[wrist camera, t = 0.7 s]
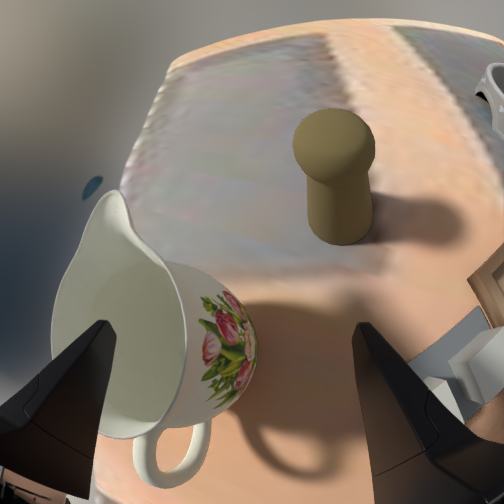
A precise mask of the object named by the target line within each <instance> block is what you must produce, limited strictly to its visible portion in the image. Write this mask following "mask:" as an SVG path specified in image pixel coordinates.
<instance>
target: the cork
mask: <svg viewBox="0 0 504 504" xmlns="http://www.w3.org/2000/svg"><path fill="white" fill-rule="evenodd" d="M293 150H294V155H295V158H296V161H297V162H298V164H299V165H300V167H301V168H302V170H303V171H304V172H305V174H306V175H307V202H308V220H309V225H310V227H311V229H312V231H313V232H314V234H315V235H317V236H318V237H319V238H320V239H321V240H323V241H325V242H327V243H329V244H333V245H340V246H343V245H348V244H353V243H355V242H357V241H359V240H361V239H362V238H363V237H364V236H365V235H366V234H367V233H368V231H369V229H370V227H371V225H372V220H373V209H372V200H371V192H370V184H369V177H368V171H369V169H370V167H371V164H372V162H373V160H374V158H375V140H374V136H373V134H372V132H371V129H370V127H369V126H368V125H367V124H366V123H365V122H364V121H363V120H362V119H361V118H360V117H359V116H358V115H356V114H354V113H352V112H350V111H346V110H343V109H331V108H329V109H323V110H319V111H316V112H314V113H311V114H309V115H308V116H307V117H305V118H304V119H303V120H302V121H301V123H300V124H299V126H298V127H297V129H296V130H295V134H294V138H293Z"/></svg>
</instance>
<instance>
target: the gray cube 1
mask: <svg viewBox="0 0 504 504" xmlns="http://www.w3.org/2000/svg"><path fill="white" fill-rule="evenodd" d="M423 382H424V383H425V384H426V385H427V387H428V388H429V389H430V390H431V391H432V392H433V393H434V394H435V396H436V397H437V398H438V399H439V400H440V401H441V402H442V403H443V405H444V406H445V407H446V408H447V409H448V410H449V411H450V412H451V413H452V414H454V415H455V416H456V417H457V418H458V419H459V420H460V421H461V422H462V423H463V424H465V423H464V420H463V418H462V415H461V413H460V410H459V408H458V406H457V403H456V401H455V399H454V397H453V394H452V392H451V390H450V388H449V386H448V383H447V381H446V380H443V379H439V378H435V377H431V376H428V377H427V378H425V379H424V380H423Z"/></svg>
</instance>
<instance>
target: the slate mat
mask: <svg viewBox="0 0 504 504" xmlns="http://www.w3.org/2000/svg"><path fill="white" fill-rule="evenodd" d="M486 330H490V327H489V324H488V322H487V321H486V319H485V317H484V315H483V313H482V311H481V309H480V307H479V305H478V306H476V307H475V308H474V309H473V310H472V311H471V312H470V313H469V314H468V315H467V316H466V317H465V318H463V319H462V320H461V321H460V322H459V323H458V324H457V325H456V326H454V327H453V328H452V329H451V330H450V331H448V332H447V333H446V334H445V335H444V336H442V337H441V338H440V339H439V340H437V341H436V342H435V343H434V344H432V345H431V346H430V347H428V348H427V349H426V350H424V351H423V352H422V353H420V354H419V355H418V356H416V357H415V358H414V359H412V360H411V361H409V362H408V363H407V364H408V365H409V366H410V367H411V368H412V369H413V371H414V372H415V373H416V374H417V375H418V376H419V377H420V378H421V380H422V381H423V380H424V379H425V378H427V377H428V376H431V377H435V378H439V379H443V380H446V381H447V383H448V386H449V388H450V390H451V392H452V394H453V397H454V399H455V401H456V403H457V406H458V408H459V410H460V413H461V415H462V418H463V420H464V422H465V421H466V420H467V419H468V418H469V417H471V416H472V415H473V414H474V413H475V412H476V411H478V410H479V409H480V408H481V407H482V406H483V405H484V404H481V403H478V402H475V401H471V400H468V399H465V397H464V395H463V393H462V390H461V388H460V386H459V384H458V381H457V379H456V377H455V375H454V373H453V371H452V369H451V367H450V365H449V362H448V361H449V360H450V359H451V358H452V357H453V356H455V355H456V354H457V353H458V352H459V351H460V350H462V349H463V348H464V347H465V346H466V345H467V344H468V343H469V342H471V341H472V340H473V339H474V338H475V337H476V336H477V335H478V334H479V333H480V332H481V331H486Z"/></svg>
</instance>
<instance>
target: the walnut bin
mask: <svg viewBox="0 0 504 504" xmlns="http://www.w3.org/2000/svg"><path fill="white" fill-rule="evenodd" d="M467 281H468V283H469V284H470V286H471V288H472V289H473V291H474V293H475V294H476V296H477V298H478V300H479V302H480V303H481V305H482V307H483V309H484V311H485V313H486V315H487V317H488V319H489V321H490V323H491V325H492V327H493V329H494V328H498V327H502V326H504V243H503V244H502V245H501V246H500V247H499V248H498V249H497V250H496V251H495V252H494V254H493V255H492V256H491V257H490V258H489V259H488V260H487V261H486V262H485V263H484V264H483V265H482V266H481V267H479V268H478V269H477V270H476V271H475V272H474V273H473V274H472V275H471V276H470V277H469V278H468V279H467Z"/></svg>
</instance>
